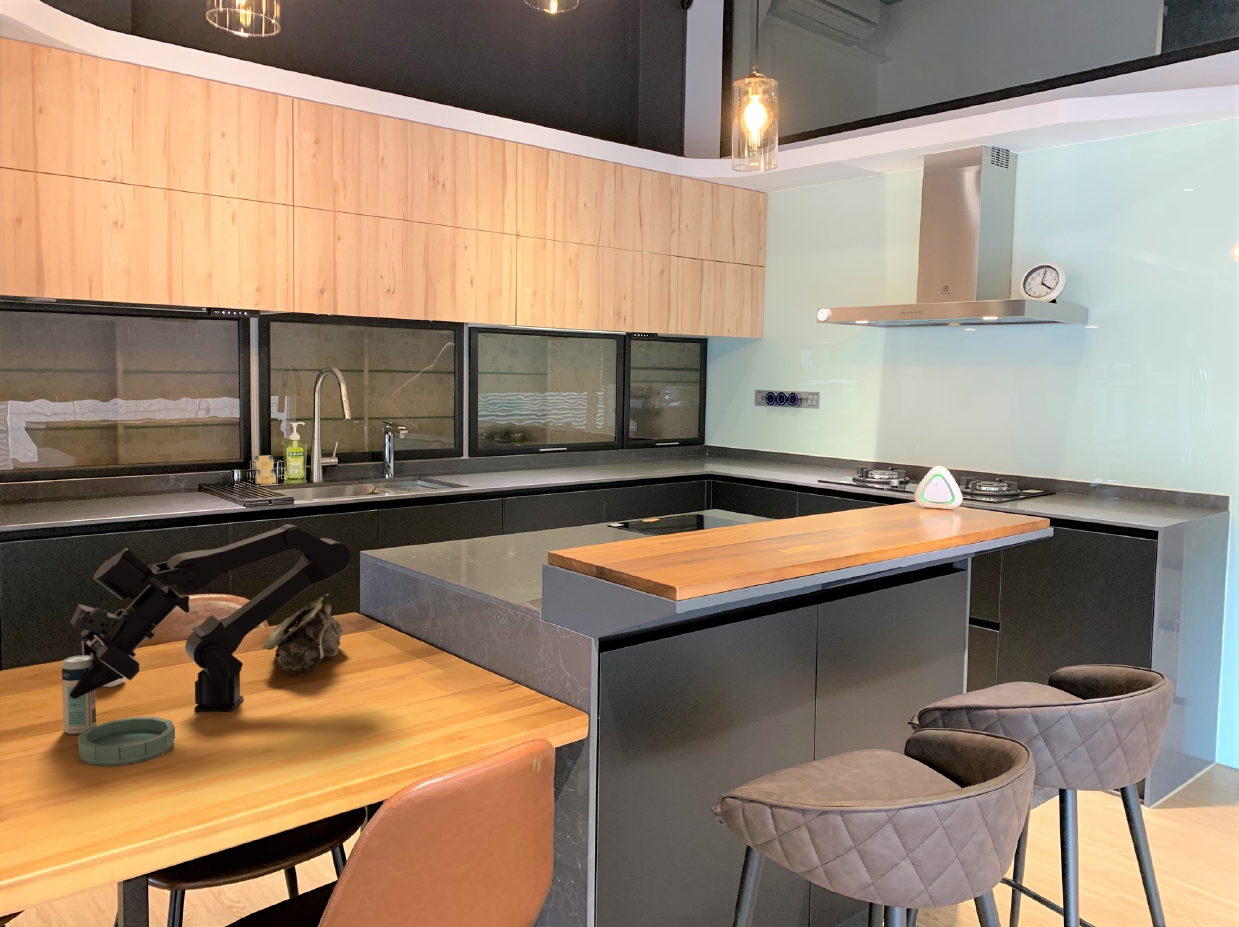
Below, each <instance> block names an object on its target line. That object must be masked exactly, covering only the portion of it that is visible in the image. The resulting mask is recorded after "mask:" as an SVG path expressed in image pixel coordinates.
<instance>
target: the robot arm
mask: <svg viewBox="0 0 1239 927" xmlns="http://www.w3.org/2000/svg"><path fill="white" fill-rule="evenodd" d="M292 549H294V550H295V551H297V552H299V553H302V555H301V556H300V558H299V559H298V560H297V563H296V564H295V565H294V567H293V568H291V569H290V570H288V572H286V573H285V574H282V576H281V577H279V578H278V579H276V580H275V581H274V582H273V583H271V584H270V585H269V586H267V587H266V588H264V589H263V590H262V591H261V592H259V593H258V594H257V595H255V596H254V597H253V598H252V599H249V601H247V602H246V603H244V604H243V605H242V606H241V607H239V608H238V609H237V610H235V611H234V612H232V614H230V615H227V616H226V617H222V618H221V619H218V618H217V617H216V616H214V615H212V614H211V615H210V616H208V617H207V618H206V619H205V620H204V621H203V622H202V623H200V624H199V625H197V626H195V627H192V628H191V630H192V631H193V632H191V633H190V634H189V635H188V637H187V638H186V640H185V645H184V648H185V653H186V654H187V656H188V657H189V658H190V659H191V661H193V662H194V663H195V664H196V665H197V666H198V667H199V668H200V669H201V670H200V671H199V672H197V680H195V681H194V703H195V706H194V710H193V711H196V712H198V711H199V712H200V711H201V712H204V711H205V712H206V711H207V712H208V711H209V712H210V711H212V712H213V711H221V712H222V711H225V712H227V711H233V710H234V709H235V708H236V707H237V706H238V705H239V704H240V703H241V702H242V701H243V700H244V695H241V671H242V667H243V666H244V665H243V664H244V663H243V662H242V661H241V660H240V659H239V658H237V657H236V656H235V655H233V654H234V653H235V652H236V651H237V649H238V648H239V646H240V645H241V643H242V642H243V640H244V639H245V637H246V636H247V635H248V634H249V633H250V632H252V631H253V630H254V629H256V628H257V627H258V626H260V625H262V623H263V622H265V621H266V620H267V619H269V618H270V617H272V616H273V615H274V614H275V613H277V612H278V611H279V610H281V609H282V608H284V606H286V605H287V604H288V603H290V602H291V601H293V599H295V598H297V596H299V595H300V594H302V593H303V592H304V591H306V590H307V589H308V588H309V587H311V586H312V585H315V584H317V583H320V582H325V581H326V580H329V579H331V578H333V577H335V576H336V575H339V574H340V573H342V572H344V571H345V570H346V569H348V568H349V565H350V564H351V563H350V562H351V551H350V549H349V547H347V546H346V544H345V543H344V544H343V543H341V542H338V541H336V540H334V539H332V538H327V537H326V538H325V537H322V538H318V537H316V536H314V535H312V534H309V533H307V532H305V531H304V530H303V529H302V528H300V527H299V526H297V525H293V524H289V523H287V524H283V525H281V526H280V527H278V528H274V529H272V530H269V531H267V532H263V533H259V534H258V535H257V534H256V535H254V536H251V537H249V538H246V539H243V540H239V541H236V542H234V543H231V544H227V545H225V546H223V547H222V546H221V547H219V548H214V549H213V548H212V549H202V550H194V551H187V552H186V551H185V552H181V553H177V554H175V555H173V556H171V557H170V558H169V559H168V561H163V562H159V563H153V564H150V565H146V564H145V563H144V562H143V561H141V559H139V558H138V557H137V555H136V554H134V552H132V551H131V550H130V549H129V548H127V547H124V548H123V549H122V550H121V551H120V552H118V553H116V554H114V555H113V556H112V557H110V558H109V559H107V560H105V561H104V562H103V563H102V564H101V565H100V566H99V568H98V569H97V570H96V572H95V573H94V575H93V580H95V581H96V583H97V582H98V584H100V585H101V586H102V587H104V588H106V589H107V590H108V591H109V593H112V594H113V595H114V596H116V597H117V598H118V599H120V600H121V601H123V600H126V599H127V598H129V599H130V600H133V599H134V600H133V601H132V602H131V603H130V604H129V605H128V606H127V607H126V608H125V609H124V608H119V609H117V610H116V611H115V612H114V613H110V612H108V611H107V610H106V609H100V608H99V607H95V608H94V607H91V606H88V605H84V604H78V605H77V607H76V609H75V611H74V614H73V616H72V618H71V620H70V621H69V623H70V624H71V625H72V627H73V628H75V629H76V630H81V632H80V633H79V634H80V635H81V637H82V638H84V639H85V640H83V639H82V640H81V651H82V654H81V655H88V656H90V667H89V668H88V669H87V671H86V672H85V673H84V675H83V676H82V677H81V679H80V680H79V681H78V683H77V684H76V685H75V687H74V688H73V690H72V691H71V692H70V694H69V695H70V697H72V698H73V699H76V698H78V697H80V696H82V695H84V694H86V693H89V692H91V691H93V690H95V691H96V690H97V689H99V688H101V687H105V686H104V685H106V684H108V683H111V682H113V681H115V680H118V679H122V678H123V677H126V680H129V681H132V680H133V679H135V678H134V677H136V676H137V675H138V673H139V672H140V662H139V661H138V660H137V659H136V658H135V656H136V655H137V654H136V652H135V651H136V649H138V648H139V647H140V645H141V644H143V643H144V641H145V640H146V639H147V638H148V639H149V640H151V639H152V638H154V636H155V635H156V634H155V633H154V631H155V629H157V627H159V626H160V624H161V623H162V622H163V621H164V620H165V619H166V618H168V616H169V615H170V614H171V613H172V612H173V611H174V610H175V609H176V608H177V607H178V608H179V609H180V610H182V611H183V612H185V613H186V614H187V613H190V596H188V595H187V594H186V593H185V592H195V591H197V590H200V589H201V588H203V587H205V586H207V585H209V584H210V583H212V582H214V581H216V580H217V579H218V578H219V577H220V576H222V575H223V574H225V573H227V572H229V571H231V570H234V569H237V568H240V567H243V566H245V565H248V564H251V563H254V562H256V561H259V560H262V559H265V558H267V557H270V556H273V555H277V554H280V553H282V552H285V551H288V550H292ZM152 578H154V579H156V581H158V582H159V583H161V584H162V585H164V586H162V587H159V586H158V585H156V584H155V583H154V582H152V581H151V579H152ZM170 586H174V587H175V588H177V589H178V590H180V591H183V592H184V593H185V594H179V593H178V592H177V591H175V590H174V589H173V588H171V587H170ZM86 639H87V640H86Z"/></svg>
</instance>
